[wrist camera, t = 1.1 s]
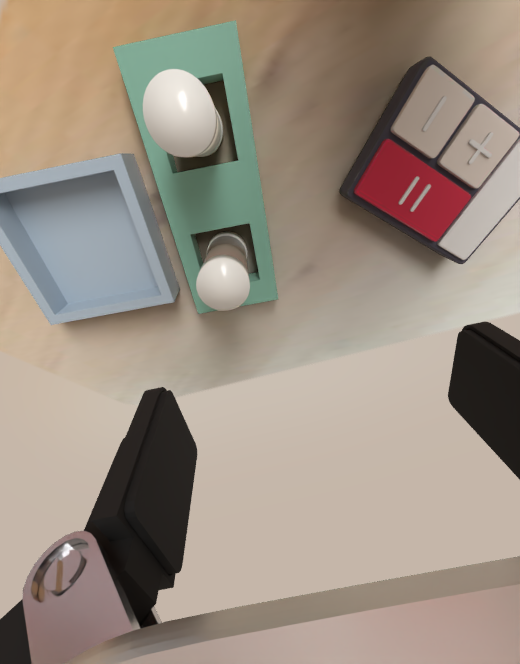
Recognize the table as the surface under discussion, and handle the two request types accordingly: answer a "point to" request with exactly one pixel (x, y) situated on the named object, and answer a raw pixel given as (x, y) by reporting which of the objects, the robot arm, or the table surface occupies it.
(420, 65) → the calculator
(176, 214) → the block
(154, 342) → the table surface
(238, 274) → the fuse
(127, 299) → the parts tray
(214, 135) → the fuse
